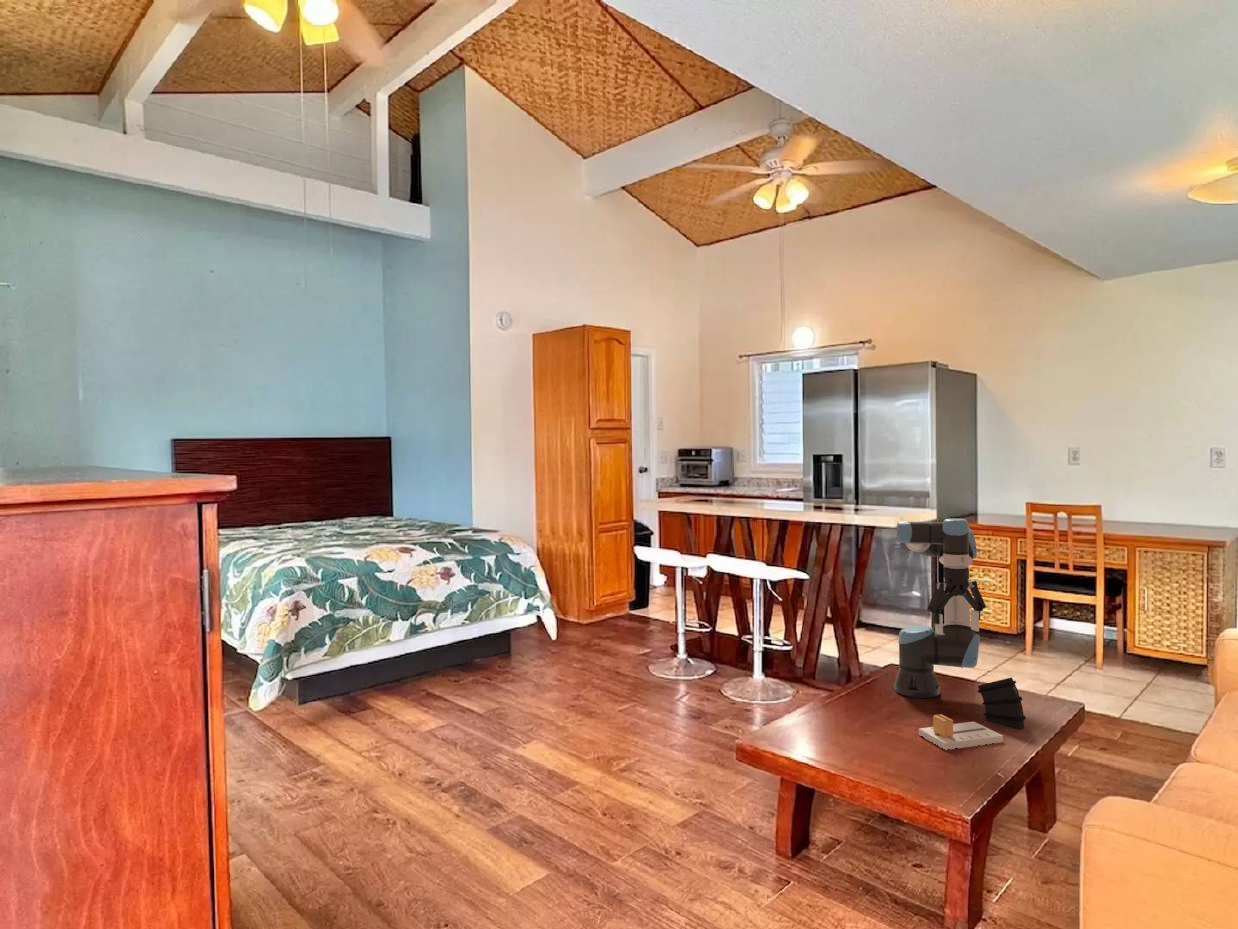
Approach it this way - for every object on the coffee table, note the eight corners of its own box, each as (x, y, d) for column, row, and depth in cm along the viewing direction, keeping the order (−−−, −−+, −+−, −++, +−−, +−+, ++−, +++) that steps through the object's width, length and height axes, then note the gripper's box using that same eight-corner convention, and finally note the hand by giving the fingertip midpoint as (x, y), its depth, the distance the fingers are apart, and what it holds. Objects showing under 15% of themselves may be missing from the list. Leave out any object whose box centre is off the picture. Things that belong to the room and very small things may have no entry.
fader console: (918, 735, 223) (918, 728, 223) (974, 727, 228) (974, 721, 228) (945, 750, 212) (945, 743, 212) (1002, 742, 216) (1002, 735, 216)
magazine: (1030, 728, 223) (1008, 679, 228) (991, 735, 232) (970, 688, 237) (1036, 725, 225) (1013, 676, 230) (997, 732, 235) (976, 685, 240)
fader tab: (933, 731, 221) (932, 714, 221) (941, 730, 221) (941, 713, 221) (944, 737, 216) (944, 720, 215) (953, 736, 216) (953, 719, 216)
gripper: (930, 570, 228) (931, 638, 228) (997, 566, 233) (998, 631, 234) (915, 567, 235) (916, 632, 235) (980, 562, 241) (981, 626, 241)
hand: (957, 632), depth 234 cm, fingers open, 13 cm apart
